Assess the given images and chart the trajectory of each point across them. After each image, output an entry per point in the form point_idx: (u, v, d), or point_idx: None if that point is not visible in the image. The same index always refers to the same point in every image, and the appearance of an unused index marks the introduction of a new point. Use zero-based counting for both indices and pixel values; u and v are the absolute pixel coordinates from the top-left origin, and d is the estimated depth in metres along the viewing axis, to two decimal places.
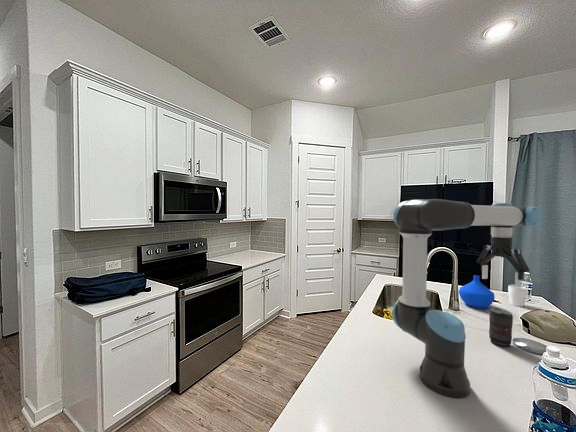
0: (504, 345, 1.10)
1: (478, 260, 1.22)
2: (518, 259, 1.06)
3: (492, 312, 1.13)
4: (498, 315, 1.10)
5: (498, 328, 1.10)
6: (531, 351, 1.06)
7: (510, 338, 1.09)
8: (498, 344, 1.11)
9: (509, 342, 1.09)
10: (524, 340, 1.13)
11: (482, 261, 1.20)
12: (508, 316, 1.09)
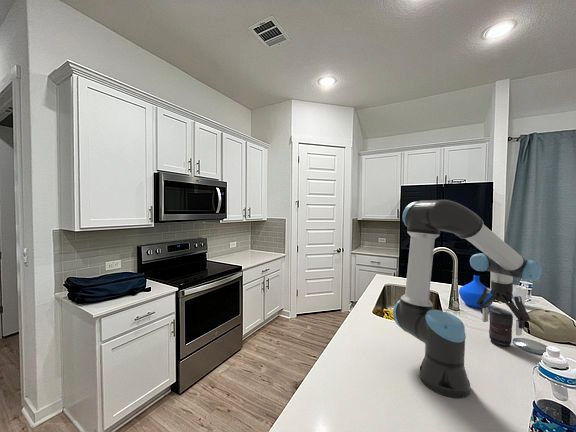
0: (504, 345, 1.10)
1: (478, 302, 1.21)
2: (519, 307, 1.05)
3: (492, 312, 1.13)
4: (498, 315, 1.10)
5: (498, 328, 1.10)
6: (531, 351, 1.06)
7: (510, 338, 1.09)
8: (498, 344, 1.11)
9: (509, 343, 1.09)
10: (524, 340, 1.13)
11: (482, 304, 1.19)
12: (508, 316, 1.09)
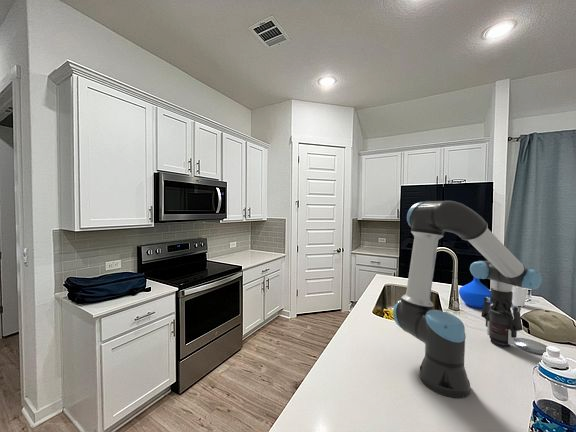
0: (504, 345, 1.10)
1: (483, 314, 1.19)
2: (515, 317, 1.06)
3: (492, 312, 1.13)
4: (498, 315, 1.10)
5: (498, 328, 1.10)
6: (531, 351, 1.06)
7: None
8: (498, 344, 1.11)
9: None
10: (524, 340, 1.13)
11: (486, 316, 1.17)
12: None
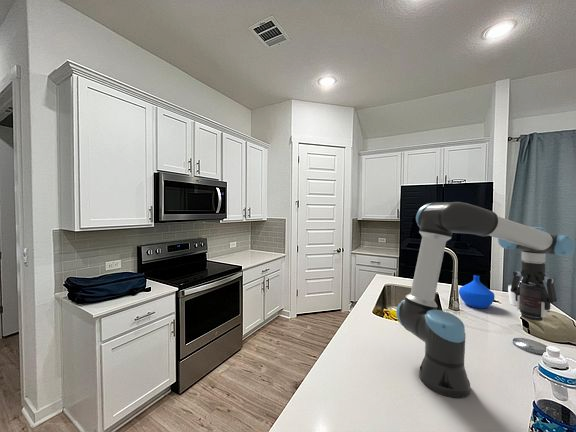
0: (537, 318, 1.07)
1: (512, 289, 1.16)
2: (549, 289, 1.03)
3: (523, 285, 1.10)
4: (531, 287, 1.07)
5: (530, 301, 1.07)
6: (531, 351, 1.06)
7: None
8: (530, 317, 1.08)
9: None
10: (524, 340, 1.13)
11: (516, 290, 1.14)
12: None
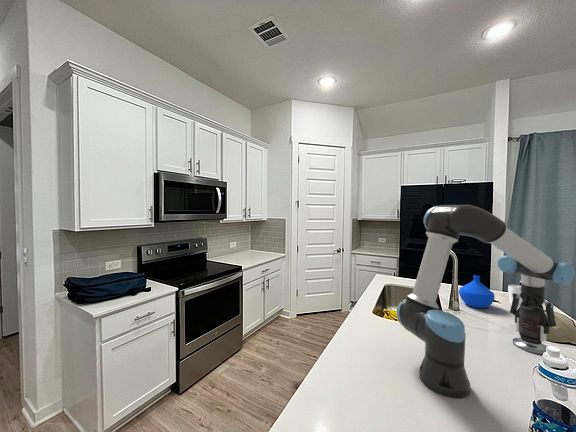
0: (536, 342, 1.07)
1: (511, 310, 1.16)
2: (548, 313, 1.03)
3: (523, 308, 1.10)
4: (530, 311, 1.07)
5: (530, 325, 1.07)
6: (531, 351, 1.06)
7: None
8: (529, 341, 1.08)
9: None
10: None
11: (516, 312, 1.14)
12: None
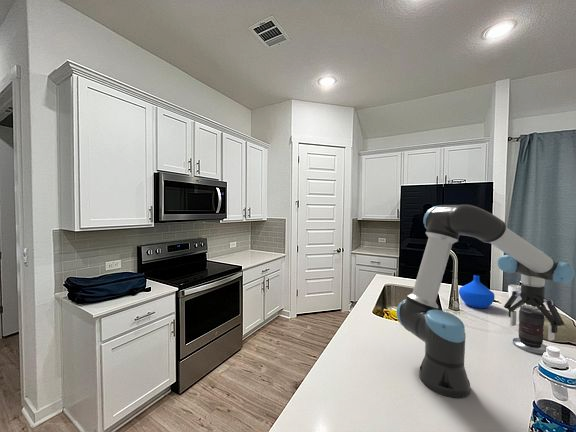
0: (535, 345, 1.07)
1: (506, 305, 1.18)
2: (552, 311, 1.02)
3: (522, 312, 1.10)
4: (529, 315, 1.07)
5: (529, 328, 1.07)
6: (531, 351, 1.06)
7: (542, 338, 1.06)
8: (529, 344, 1.08)
9: (541, 343, 1.06)
10: None
11: (510, 307, 1.16)
12: (540, 316, 1.06)
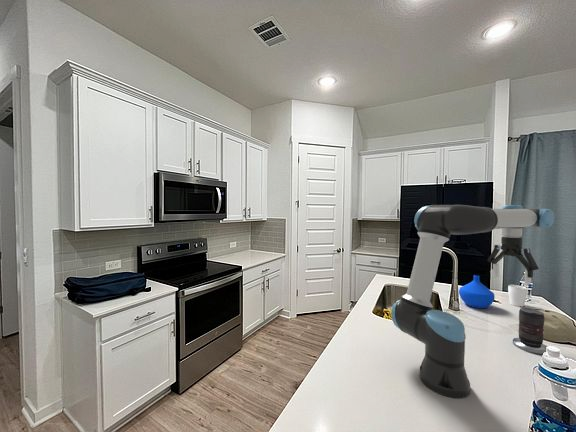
0: (535, 345, 1.07)
1: (489, 259, 1.29)
2: (527, 258, 1.13)
3: (522, 312, 1.10)
4: (529, 315, 1.07)
5: (529, 328, 1.07)
6: (531, 351, 1.06)
7: (542, 338, 1.06)
8: (529, 344, 1.08)
9: (541, 343, 1.06)
10: None
11: (493, 260, 1.27)
12: (540, 316, 1.06)
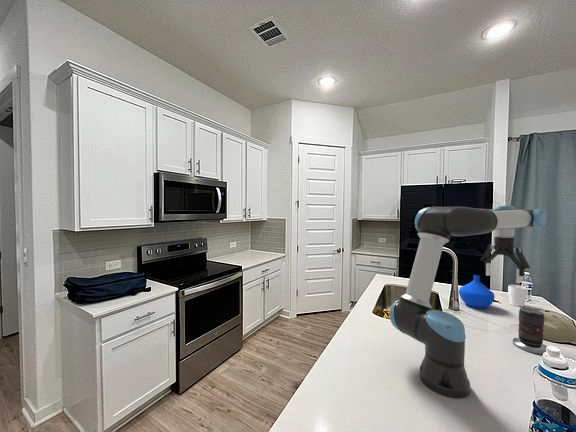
0: (535, 345, 1.07)
1: (482, 258, 1.32)
2: (519, 257, 1.17)
3: (522, 312, 1.10)
4: (529, 315, 1.08)
5: (529, 328, 1.08)
6: (531, 351, 1.06)
7: (542, 338, 1.07)
8: (529, 344, 1.08)
9: (540, 343, 1.06)
10: None
11: (486, 259, 1.31)
12: (540, 316, 1.06)
